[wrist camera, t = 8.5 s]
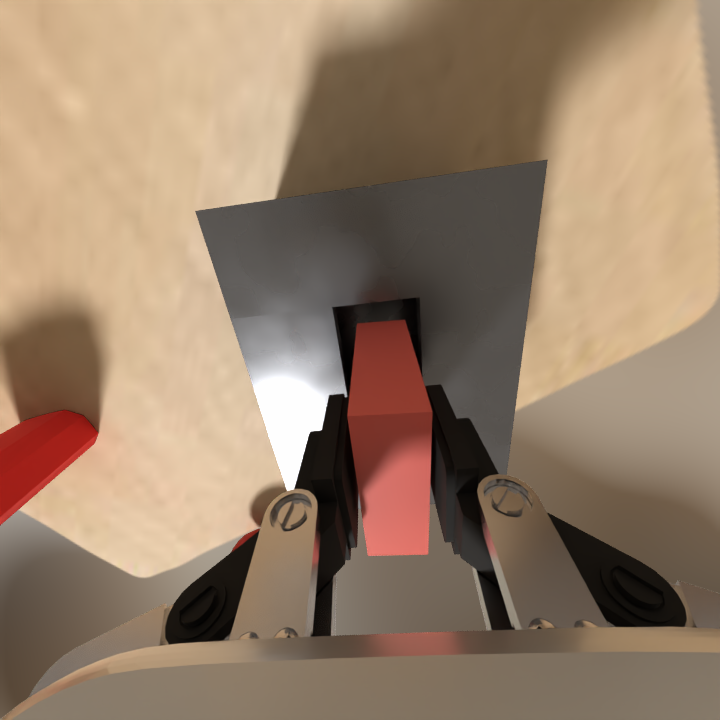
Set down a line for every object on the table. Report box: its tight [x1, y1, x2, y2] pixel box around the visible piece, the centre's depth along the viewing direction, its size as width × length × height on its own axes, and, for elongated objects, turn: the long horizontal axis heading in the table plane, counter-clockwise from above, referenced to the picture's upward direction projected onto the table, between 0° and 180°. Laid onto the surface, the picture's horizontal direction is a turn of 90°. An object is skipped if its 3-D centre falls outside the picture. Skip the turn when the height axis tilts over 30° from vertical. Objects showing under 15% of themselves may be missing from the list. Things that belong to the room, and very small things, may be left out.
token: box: [347, 320, 432, 556], centre depth 11 cm, size 6×2×6 cm
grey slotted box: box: [195, 160, 547, 509], centre depth 17 cm, size 16×12×9 cm
